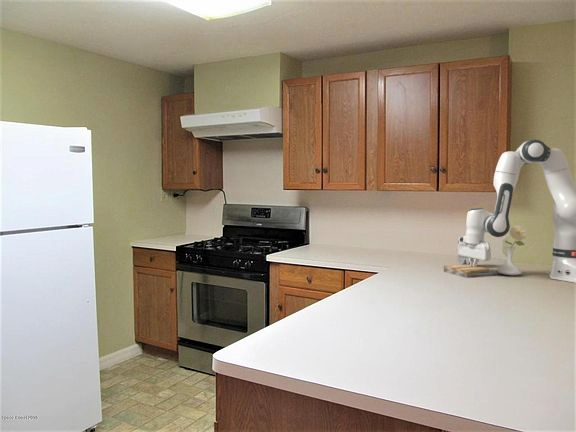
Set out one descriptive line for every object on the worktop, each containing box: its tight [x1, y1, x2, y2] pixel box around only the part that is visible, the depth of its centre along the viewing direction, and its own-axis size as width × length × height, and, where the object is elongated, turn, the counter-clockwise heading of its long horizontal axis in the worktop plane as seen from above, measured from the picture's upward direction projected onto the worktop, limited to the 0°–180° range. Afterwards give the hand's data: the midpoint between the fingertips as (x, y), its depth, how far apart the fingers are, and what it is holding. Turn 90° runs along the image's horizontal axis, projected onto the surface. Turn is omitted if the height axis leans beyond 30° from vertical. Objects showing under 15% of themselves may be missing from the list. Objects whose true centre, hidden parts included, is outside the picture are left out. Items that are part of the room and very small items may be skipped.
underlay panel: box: [443, 265, 499, 278], centre depth 240 cm, size 17×19×3 cm
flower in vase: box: [496, 225, 528, 276], centre depth 236 cm, size 13×11×25 cm
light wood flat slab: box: [450, 264, 490, 274], centre depth 239 cm, size 15×12×2 cm
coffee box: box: [457, 241, 474, 265], centre depth 260 cm, size 9×6×16 cm
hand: (473, 266), depth 240 cm, fingers closed, pressing on light wood flat slab
